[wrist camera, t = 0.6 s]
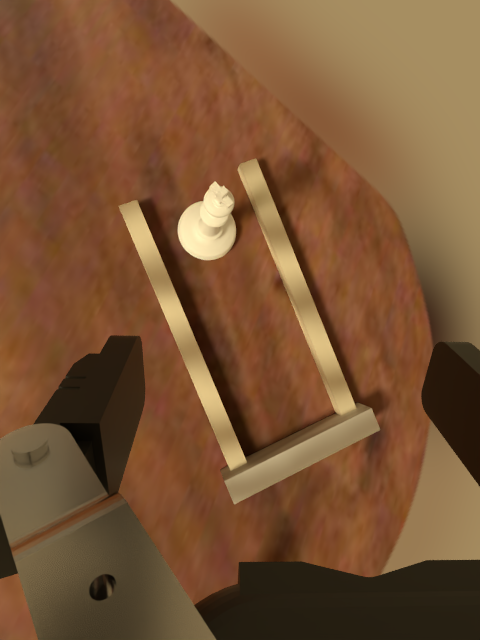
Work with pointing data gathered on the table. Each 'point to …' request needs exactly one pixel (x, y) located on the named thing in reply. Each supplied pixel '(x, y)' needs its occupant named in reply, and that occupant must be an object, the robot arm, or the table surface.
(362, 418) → the track
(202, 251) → the chess piece
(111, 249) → the table surface
